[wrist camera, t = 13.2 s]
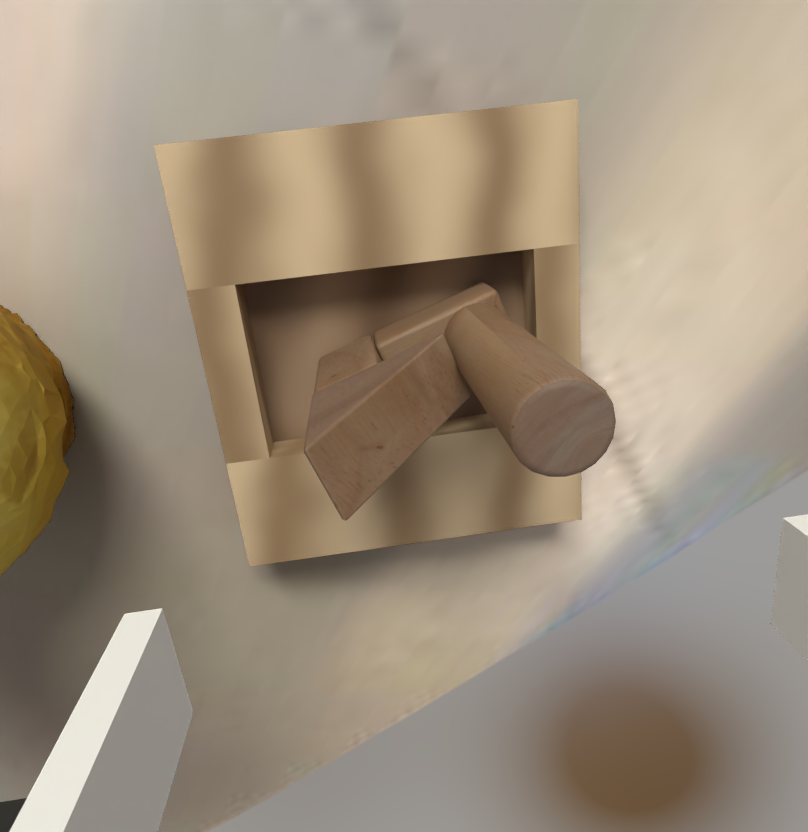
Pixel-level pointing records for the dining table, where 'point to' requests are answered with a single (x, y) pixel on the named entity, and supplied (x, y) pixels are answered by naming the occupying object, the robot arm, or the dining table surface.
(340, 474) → the wooden block
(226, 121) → the dining table surface
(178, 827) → the dining table surface
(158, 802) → the robot arm
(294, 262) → the wooden tray
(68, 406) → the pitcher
